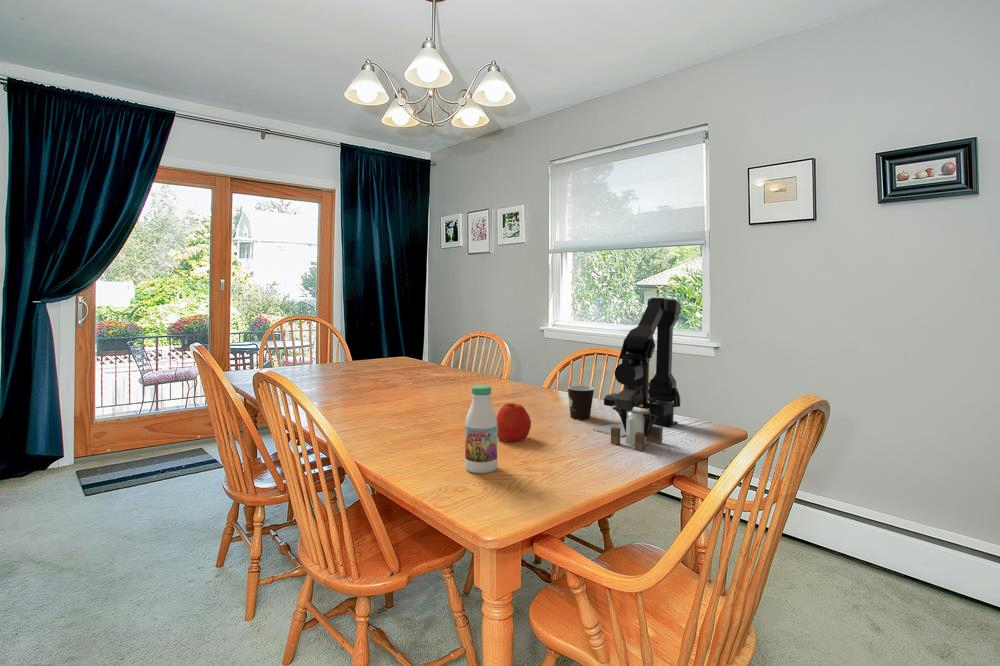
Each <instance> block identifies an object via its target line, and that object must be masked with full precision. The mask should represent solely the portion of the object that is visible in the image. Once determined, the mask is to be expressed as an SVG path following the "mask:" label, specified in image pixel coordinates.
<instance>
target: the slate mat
mask: <svg viewBox="0 0 1000 666" xmlns="http://www.w3.org/2000/svg"><path fill="white" fill-rule="evenodd" d="M612 427H618V428H620V438H624V437H626V436H625V435H626V432H625V429H624V426H623V425H620V424H615V423H610V424H609V423H608V424H605V425H603V426H599V427H595V428H593V430H592V431H594V430H597V431H596V432H598V431H601V432H600V433H602V432H605V433H604V434H606V433H609V434H608V435H610V434H611V428H612ZM623 436H624V437H623Z"/></svg>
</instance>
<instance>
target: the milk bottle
mask: <svg viewBox="0 0 1000 666" xmlns="http://www.w3.org/2000/svg"><path fill="white" fill-rule="evenodd" d="M491 393H492V387H491V386H490V385H487V384H485V385H484V384H477V385H473V386H472V387H471V397H472V401H471V404H470V407H469V409H468V412H467V414H466V418H465V429H464V430H465V432H464V437H465V438H464V439H465V440H464V448H465V449H464V459H465V460H464V465H465V470H467V471H468V472H470V473H473V474H489V473H492V472H495V471H496V470H497V469H498V437H497V414H496V411H495V409H494V408H493V405H492V402H491V401H492V400H491V396H492V394H491Z"/></svg>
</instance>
